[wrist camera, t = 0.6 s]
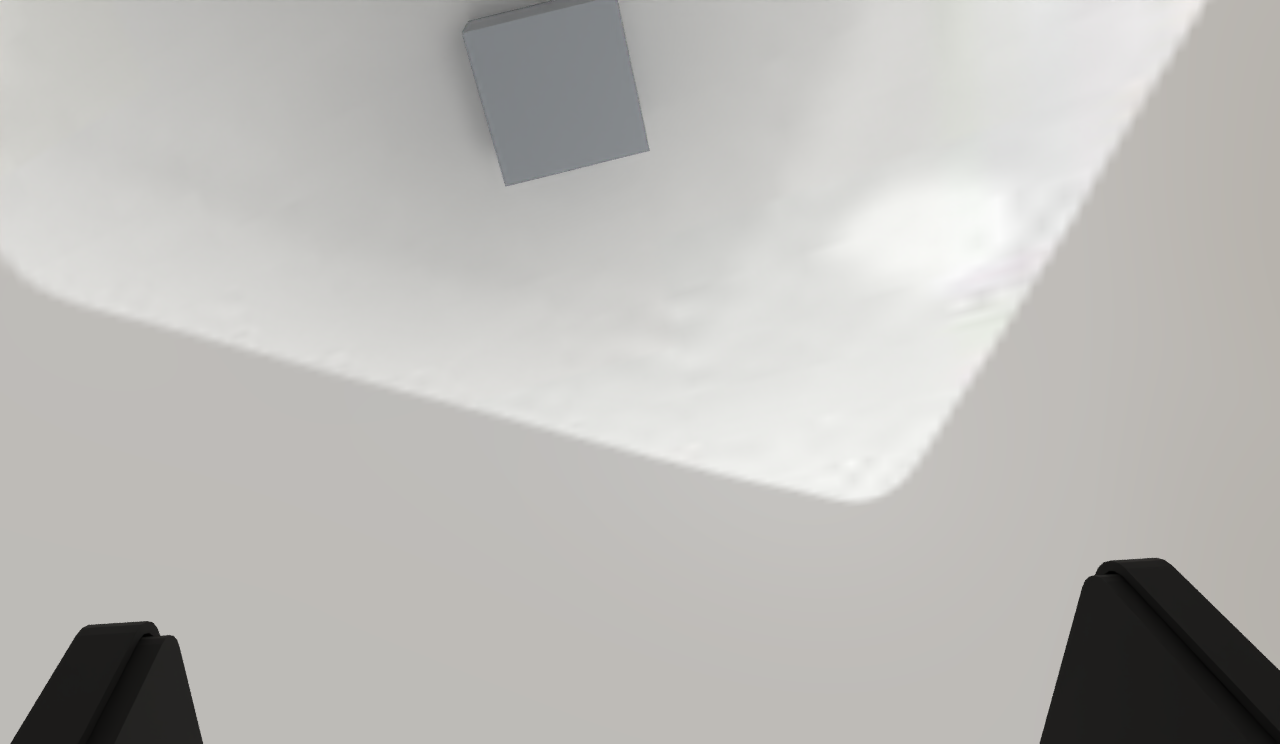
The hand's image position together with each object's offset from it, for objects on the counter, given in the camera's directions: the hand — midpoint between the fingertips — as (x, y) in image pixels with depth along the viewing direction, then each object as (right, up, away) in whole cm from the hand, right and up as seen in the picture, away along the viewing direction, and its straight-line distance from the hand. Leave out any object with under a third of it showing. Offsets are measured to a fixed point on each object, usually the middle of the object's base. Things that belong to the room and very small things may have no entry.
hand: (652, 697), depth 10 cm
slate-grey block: (-3, +14, +25) cm, 29 cm away
